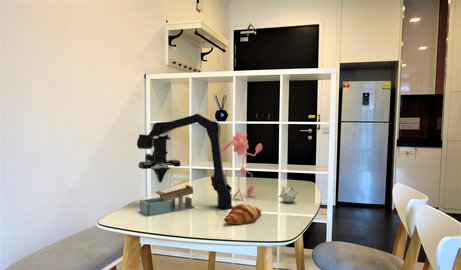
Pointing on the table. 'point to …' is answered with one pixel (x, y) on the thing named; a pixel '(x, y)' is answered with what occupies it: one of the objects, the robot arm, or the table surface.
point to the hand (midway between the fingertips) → (159, 182)
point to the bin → (155, 206)
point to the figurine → (241, 147)
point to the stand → (182, 204)
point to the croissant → (242, 214)
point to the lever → (175, 193)
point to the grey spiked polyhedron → (288, 194)
